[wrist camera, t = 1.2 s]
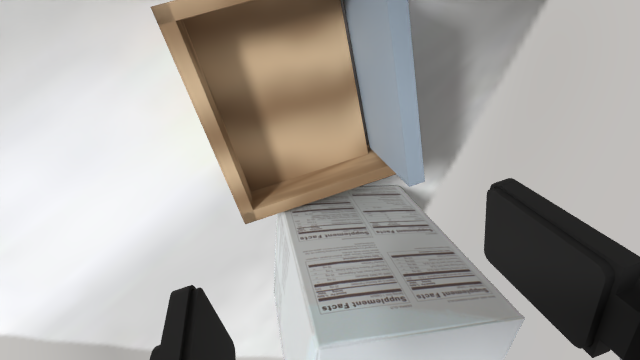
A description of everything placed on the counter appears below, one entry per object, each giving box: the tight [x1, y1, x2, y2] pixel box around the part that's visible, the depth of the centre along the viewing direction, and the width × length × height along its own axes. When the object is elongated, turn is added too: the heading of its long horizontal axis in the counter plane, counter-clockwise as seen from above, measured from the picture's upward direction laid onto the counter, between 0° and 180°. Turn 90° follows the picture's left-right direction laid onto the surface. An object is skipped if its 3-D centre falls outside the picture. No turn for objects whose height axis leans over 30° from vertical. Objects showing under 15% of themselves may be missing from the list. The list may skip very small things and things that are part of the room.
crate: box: [151, 0, 396, 224], centre depth 26 cm, size 16×14×5 cm
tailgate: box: [343, 0, 425, 187], centre depth 24 cm, size 13×2×8 cm, turn 14°
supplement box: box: [274, 186, 525, 360], centre depth 28 cm, size 13×13×18 cm
